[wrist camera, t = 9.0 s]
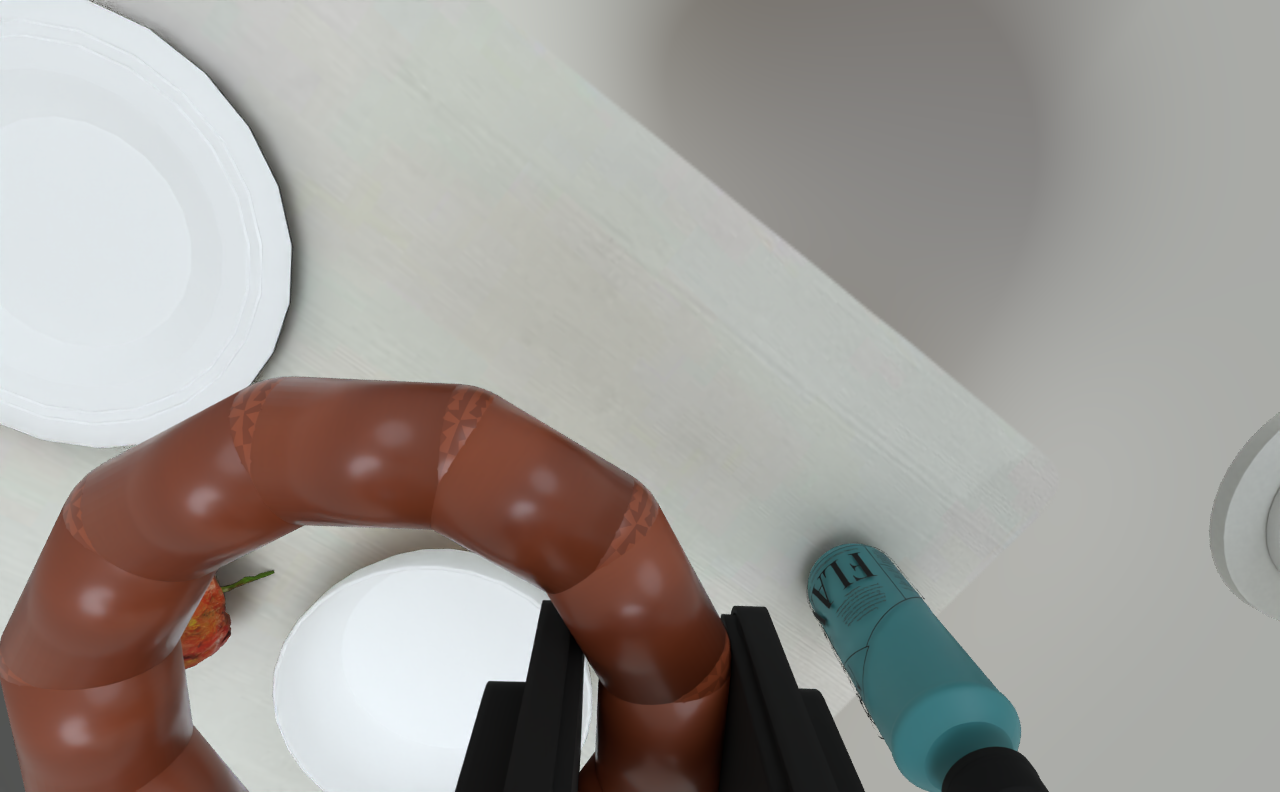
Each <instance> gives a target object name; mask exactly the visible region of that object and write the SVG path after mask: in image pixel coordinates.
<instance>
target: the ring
mask: <svg viewBox="0 0 1280 792" xmlns="http://www.w3.org/2000/svg"><path fill="white" fill-rule="evenodd" d="M304 525H314V526H341V527H369V528H396V529H423V530H434V531H435V532H437V533H439V534H441V535H443V536H444V537H446V538H448V539H450V540H452V541H454V542H455V543H457V544H459V545H461V546H463V547H464V548H466V549H468V550H470V551H472V552H474V553H475V554H477V555H479V556H481V557H483V558H484V559H486V560H488V561H490V562H492V563H494V564H495V565H497V566H499V567H501V568H503V569H504V570H506V571H508V572H510V573H512V574H513V575H515V576H517V577H519V578H521V579H523V580H524V581H526V582H528V583H530V584H532V585H533V586H535V587H537V588H539V589H541V590H543V591H544V592H546V593H547V595H548V596H549V598H550V600H551V601H552V603H553V605H554V606H555V608H556V609H557V611H558V613H559V614H560V616H561V618H562V619H563V621H564V622H565V624H566V626H567V627H568V629H569V631H570V632H571V634H572V635H573V637H574V639H575V640H576V642H577V643H578V645H579V647H580V648H581V650H582V651H583V653H584V655H585V656H586V658H587V660H588V661H589V663H590V665H591V666H592V668H593V669H594V671H595V673H596V674H597V676H598V678H599V682H598V704H597V726H596V748H595V752H594V754H593V755H592V756H591V758H590V759H589V760H588V762H587V763H586V764H585V766H584V767H583V768H582V770H581V771H580V772H579V781H578V792H718V790H719V781H720V772H721V762H722V753H723V743H724V734H725V724H726V715H727V705H728V696H729V686H730V677H731V648H730V640H729V637H728V634H727V632H726V629H725V627H724V625H723V623H722V621H721V619H720V617H719V615H718V613H717V612H716V610H715V608H714V606H713V604H712V602H711V600H710V599H709V597H708V595H707V593H706V591H705V589H704V588H703V586H702V584H701V582H700V580H699V578H698V576H697V575H696V573H695V571H694V569H693V567H692V565H691V564H690V562H689V560H688V558H687V556H686V554H685V552H684V551H683V549H682V547H681V545H680V543H679V541H678V540H677V538H676V536H675V534H674V532H673V530H672V529H671V527H670V525H669V523H668V521H667V519H666V517H665V516H664V514H663V512H662V510H661V508H660V506H659V505H658V503H657V501H656V500H655V498H654V496H653V495H652V494H651V492H650V491H649V490H648V489H647V488H646V487H645V486H644V485H643V484H642V483H641V482H640V481H638V480H637V479H636V478H634V477H633V476H631V475H630V474H628V473H626V472H625V471H623V470H621V469H620V468H618V467H616V466H615V465H613V464H611V463H610V462H608V461H606V460H605V459H603V458H601V457H600V456H598V455H596V454H595V453H593V452H591V451H590V450H588V449H586V448H585V447H583V446H581V445H580V444H578V443H576V442H575V441H573V440H571V439H570V438H568V437H566V436H565V435H563V434H561V433H560V432H558V431H556V430H555V429H553V428H551V427H550V426H548V425H546V424H545V423H543V422H541V421H539V420H538V419H536V418H534V417H533V416H531V415H529V414H528V413H526V412H524V411H523V410H521V409H519V408H518V407H516V406H514V405H513V404H511V403H509V402H508V401H506V400H504V399H503V398H501V397H499V396H498V395H496V394H494V393H492V392H490V391H487V390H485V389H482V388H479V387H475V386H470V385H462V384H446V383H424V382H403V381H381V380H359V379H338V378H316V377H277V378H273V379H268V380H264V381H260V382H257V383H255V384H253V385H250V386H248V387H246V388H244V389H242V390H240V391H238V392H236V393H235V394H233V395H231V396H229V397H227V398H225V399H223V400H221V401H219V402H218V403H216V404H214V405H212V406H210V407H208V408H206V409H204V410H203V411H201V412H199V413H197V414H195V415H193V416H191V417H189V418H187V419H186V420H184V421H182V422H180V423H178V424H176V425H174V426H172V427H170V428H169V429H167V430H165V431H163V432H161V433H159V434H157V435H155V436H154V437H152V438H150V439H148V440H146V441H144V442H142V443H140V444H138V445H137V446H135V447H133V448H131V449H129V450H127V451H125V452H123V453H122V454H120V455H118V456H116V457H114V458H112V459H110V460H108V461H107V462H105V463H103V464H101V465H100V466H99V467H97V468H95V469H94V470H92V471H91V472H90V473H88V474H87V475H86V476H85V477H84V478H83V479H82V480H81V481H80V482H79V483H78V484H77V485H76V486H75V488H74V489H73V490H72V492H71V493H70V495H69V497H68V498H67V500H66V502H65V504H64V506H63V508H62V510H61V512H60V514H59V516H58V519H57V521H56V523H55V525H54V527H53V529H52V531H51V533H50V535H49V537H48V540H47V542H46V544H45V546H44V548H43V550H42V552H41V554H40V556H39V558H38V561H37V563H36V565H35V567H34V569H33V571H32V573H31V575H30V577H29V579H28V582H27V584H26V586H25V588H24V590H23V592H22V594H21V596H20V598H19V600H18V603H17V605H16V607H15V609H14V611H13V613H12V615H11V617H10V619H9V621H8V624H7V626H6V628H5V630H4V632H3V635H2V637H1V641H0V680H1V685H2V690H3V694H4V698H5V703H6V707H7V711H8V716H9V720H10V725H11V729H12V734H13V738H14V743H15V747H16V752H17V756H18V760H19V765H20V769H21V773H22V778H23V782H24V787H25V791H26V792H249V791H248V790H247V789H246V787H245V786H244V785H243V784H242V783H241V782H240V780H239V779H238V778H237V777H236V776H235V774H234V773H233V772H232V771H231V770H230V768H229V767H228V766H227V765H226V764H225V762H224V761H223V760H222V759H221V758H220V756H219V755H218V754H217V753H216V752H215V750H214V749H213V748H212V747H211V746H210V744H209V743H208V742H207V741H206V740H205V738H204V737H203V736H202V735H201V734H200V732H199V731H198V730H197V729H196V728H195V726H194V725H193V723H192V716H191V709H190V701H189V694H188V687H187V680H186V673H185V666H184V659H183V652H182V645H181V638H180V637H181V636H182V634H183V632H184V630H185V628H186V627H187V625H188V623H189V621H190V619H191V617H192V616H193V614H194V612H195V610H196V608H197V607H198V605H199V603H200V601H201V599H202V597H203V596H204V594H205V592H206V590H207V588H208V587H209V585H210V583H211V581H212V579H213V577H214V576H215V574H216V572H217V570H218V569H219V568H221V567H223V566H225V565H227V564H229V563H231V562H233V561H235V560H237V559H238V558H240V557H242V556H244V555H246V554H248V553H250V552H252V551H254V550H256V549H258V548H260V547H262V546H264V545H266V544H268V543H270V542H272V541H274V540H276V539H278V538H280V537H282V536H284V535H286V534H288V533H290V532H292V531H294V530H296V529H298V528H300V527H302V526H304Z"/></svg>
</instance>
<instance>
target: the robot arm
mask: <svg viewBox="0 0 1280 792" xmlns="http://www.w3.org/2000/svg"><path fill="white" fill-rule="evenodd" d="M1266 531H1267V546H1268V550H1269V553H1270V557H1271V559H1272V561H1273V563H1274V564H1275V566H1276V568H1277V569H1278V570H1279V571H1280V489H1279V490H1278V492H1277V494H1276V496H1275V498H1274V501H1273V503H1272V506H1271V509H1270V511H1269V516H1268V521H1267V527H1266ZM720 619H721V621H722V623H723V625H724V627H725V629H726V632H727V634H728V637H729V640H730V648H731V677H730V686H729V696H728V705H727V715H726V724H725V734H724V743H723V753H722V762H721V772H720V781H719V790H718V792H865V791H864V788H863V786H862V784H861V781H860V779H859V777H858V775H857V772H856V770H855V768H854V766H853V763H852V761H851V759H850V756H849V754H848V752H847V750H846V747H845V745H844V743H843V740H842V738H841V736H840V734H839V731H838V729H837V727H836V725H835V722H834V720H833V718H832V715H831V713H830V711H829V709H828V706H827V704H826V702H825V699H824V698H823V696H822V694H821V692H820V691H818V690H817V689H798V686H797V683H796V681H795V678H794V676H793V673H792V671H791V668H790V666H789V663H788V660H787V658H786V655H785V653H784V650H783V648H782V645H781V643H780V640H779V638H778V635H777V632H776V630H775V627H774V625H773V622H772V620H771V617H770V615H769V612H768V610H767V608H766V607H753V606H734V607H733V608H732V611H731V614H722V615H721V618H720ZM584 658H585V655H584V653H583V651H582V650H581V648H580V647H579V645H578V643H577V642H576V640H575V639H574V637H573V635H572V634H571V632H570V631H569V629H568V627H567V626H566V624H565V622H564V621H563V619H562V618H561V616H560V614H559V613H558V611H557V609H556V608H555V606H554V605H553V603H552V601H551V600H543V601H542V604H541V609H540V614H539V619H538V624H537V629H536V634H535V639H534V644H533V649H532V654H531V659H530V663H529V668H528V673H527V678H526V682H515V681H488V682H487V684H486V687H485V689H484V692H483V696H482V699H481V703H480V706H479V710H478V713H477V717H476V720H475V723H474V727H473V730H472V734H471V737H470V741H469V744H468V748H467V751H466V754H465V758H464V761H463V765H462V768H461V772H460V775H459V779H458V782H457V785H456V789H455V792H578V781H579V770H580V755H581V734H582V709H583V683H584Z"/></svg>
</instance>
